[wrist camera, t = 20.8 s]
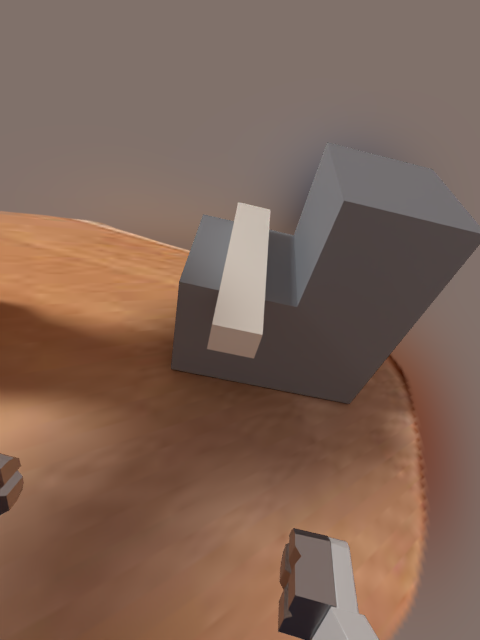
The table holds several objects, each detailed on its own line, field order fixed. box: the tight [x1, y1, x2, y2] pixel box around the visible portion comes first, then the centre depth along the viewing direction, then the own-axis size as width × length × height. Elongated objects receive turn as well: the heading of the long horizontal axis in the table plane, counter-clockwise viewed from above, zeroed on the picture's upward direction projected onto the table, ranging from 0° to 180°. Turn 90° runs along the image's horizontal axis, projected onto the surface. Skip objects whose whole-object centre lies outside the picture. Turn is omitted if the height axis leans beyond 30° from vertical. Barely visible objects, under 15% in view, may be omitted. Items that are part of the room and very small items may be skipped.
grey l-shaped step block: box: [171, 143, 480, 404], centre depth 40 cm, size 24×14×26 cm, turn 85°
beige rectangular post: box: [207, 203, 270, 358], centre depth 35 cm, size 4×21×3 cm, turn 175°
